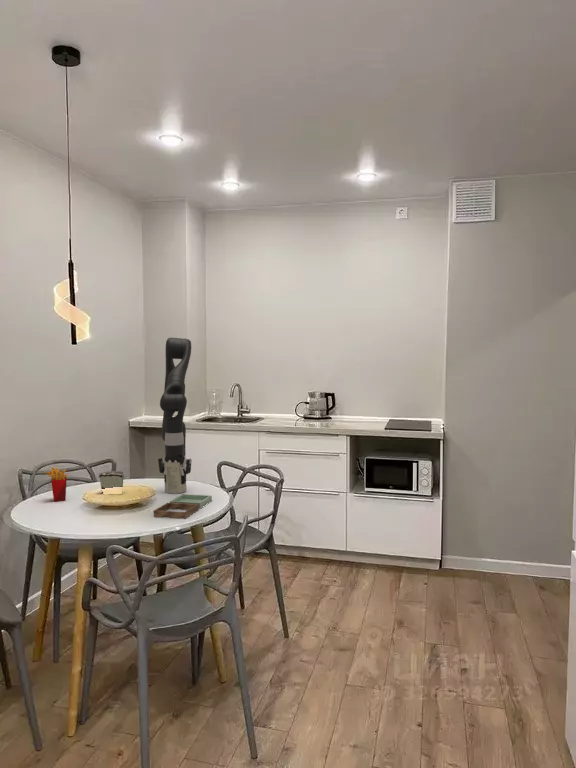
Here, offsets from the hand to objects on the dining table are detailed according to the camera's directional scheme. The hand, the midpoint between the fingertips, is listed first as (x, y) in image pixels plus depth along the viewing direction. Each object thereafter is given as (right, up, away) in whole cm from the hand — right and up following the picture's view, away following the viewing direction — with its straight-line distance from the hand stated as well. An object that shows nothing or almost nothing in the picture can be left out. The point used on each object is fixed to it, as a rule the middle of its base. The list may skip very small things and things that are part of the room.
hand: (175, 483), depth 245 cm
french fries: (-58, -12, +24) cm, 64 cm away
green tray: (+4, -11, +15) cm, 19 cm away
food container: (-36, -11, +37) cm, 53 cm away
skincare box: (0, -3, 0) cm, 3 cm away
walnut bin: (0, -12, +1) cm, 12 cm away
